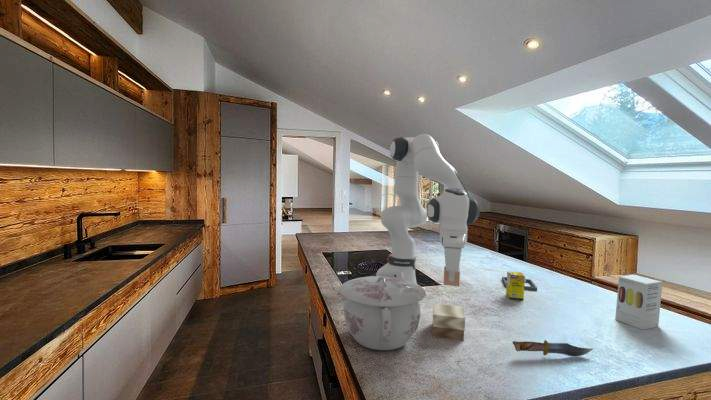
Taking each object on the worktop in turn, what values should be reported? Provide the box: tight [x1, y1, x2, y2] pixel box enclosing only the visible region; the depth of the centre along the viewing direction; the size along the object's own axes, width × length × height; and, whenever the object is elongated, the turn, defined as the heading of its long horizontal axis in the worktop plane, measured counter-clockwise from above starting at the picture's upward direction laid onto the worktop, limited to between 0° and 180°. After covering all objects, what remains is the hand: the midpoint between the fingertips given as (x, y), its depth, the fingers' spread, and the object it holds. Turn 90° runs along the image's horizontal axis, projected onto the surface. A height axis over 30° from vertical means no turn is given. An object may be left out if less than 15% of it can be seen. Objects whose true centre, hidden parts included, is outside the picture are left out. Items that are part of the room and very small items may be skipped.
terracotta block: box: [443, 265, 461, 287], centre depth 112 cm, size 5×5×5 cm
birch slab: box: [432, 303, 466, 331], centre depth 112 cm, size 10×10×4 cm
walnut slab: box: [431, 323, 465, 342], centre depth 113 cm, size 10×10×4 cm
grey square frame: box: [501, 276, 538, 291], centre depth 164 cm, size 14×14×2 cm
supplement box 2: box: [614, 274, 663, 331], centre depth 122 cm, size 10×9×17 cm
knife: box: [511, 339, 593, 358], centre depth 98 cm, size 25×1×5 cm, turn 92°
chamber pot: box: [339, 275, 427, 351], centre depth 106 cm, size 28×28×21 cm
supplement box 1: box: [505, 270, 526, 301], centre depth 146 cm, size 6×6×11 cm
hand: (451, 277), depth 112 cm, fingers closed on terracotta block, 5 cm apart
